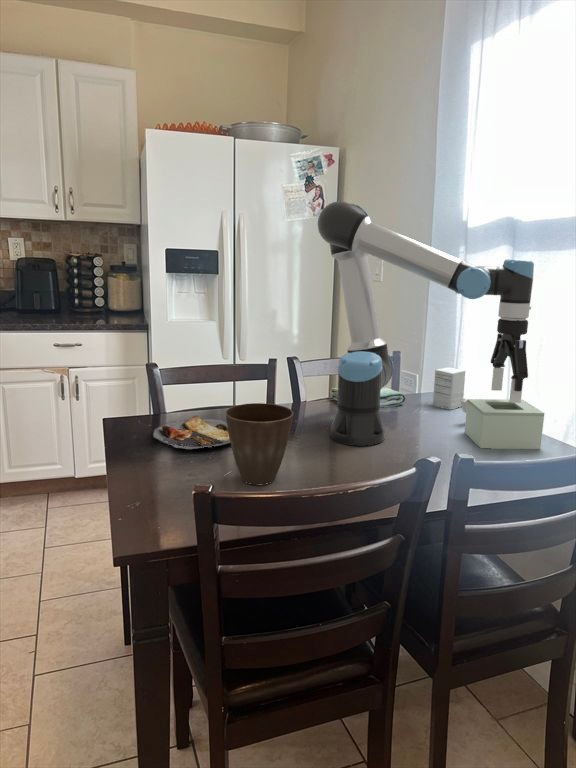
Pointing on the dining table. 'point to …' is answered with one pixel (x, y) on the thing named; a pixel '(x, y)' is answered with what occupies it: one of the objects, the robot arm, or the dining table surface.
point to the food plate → (195, 424)
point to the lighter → (464, 404)
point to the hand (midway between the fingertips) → (505, 396)
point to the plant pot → (258, 439)
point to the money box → (504, 424)
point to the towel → (381, 397)
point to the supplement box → (448, 387)
